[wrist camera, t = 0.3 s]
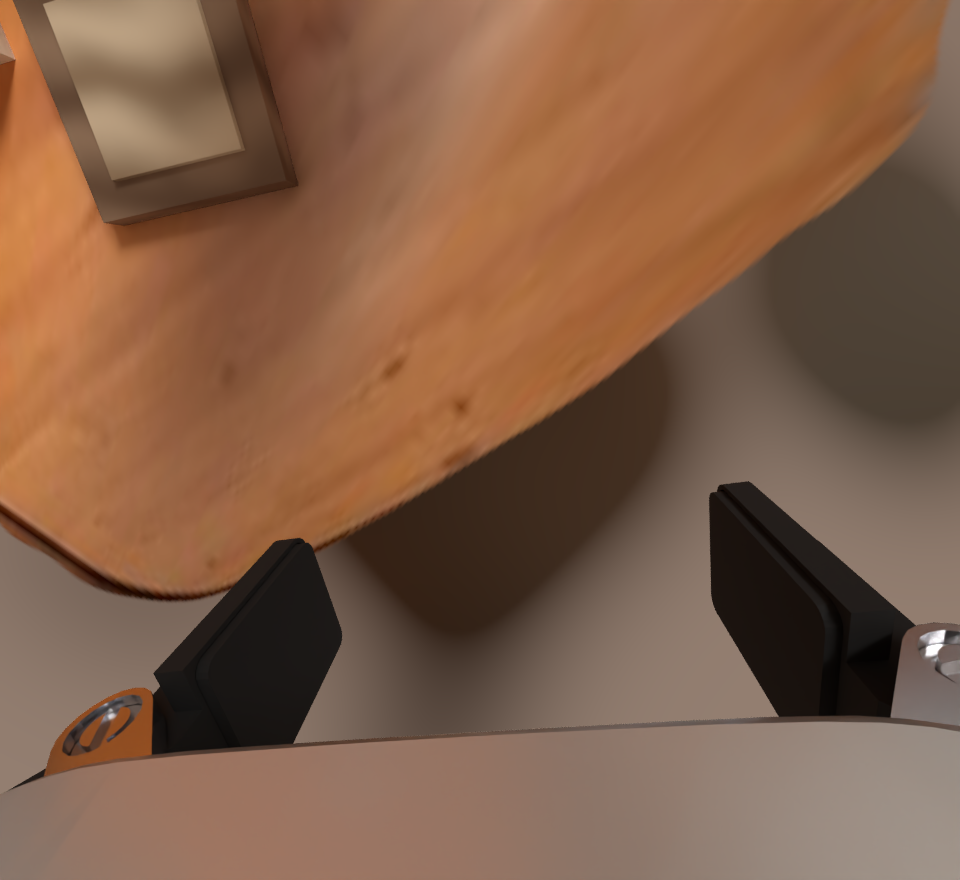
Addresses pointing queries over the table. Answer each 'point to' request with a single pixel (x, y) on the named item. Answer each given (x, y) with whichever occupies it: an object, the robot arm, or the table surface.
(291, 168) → the base
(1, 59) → the oak block
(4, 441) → the table surface
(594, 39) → the table surface
